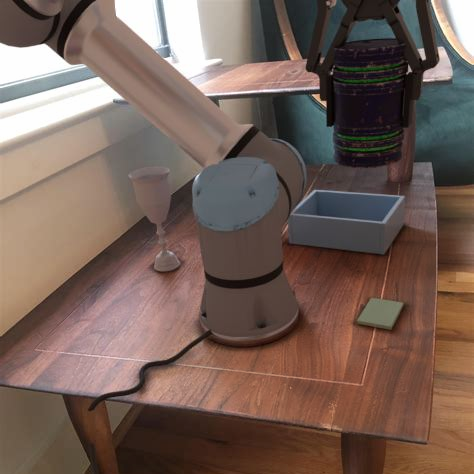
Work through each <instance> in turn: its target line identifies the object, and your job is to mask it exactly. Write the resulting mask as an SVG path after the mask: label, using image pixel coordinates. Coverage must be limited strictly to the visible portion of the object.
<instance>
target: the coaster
mask: <svg viewBox="0 0 474 474" xmlns="http://www.w3.org/2000/svg"><path fill="white" fill-rule="evenodd" d="M403 308H404V302H402V301H396V300H389V299H382V298H376V297H370V299H369V300H368V302H367V304H366V305H365V306H364V308H363V310H362V312H361V313H360V315H359V317H358V318H357V320H356V324H357V325H363V326H369V327H374V328H379V329H384V330H389V331H391V330H392V329H393V327H394V325H395V323H396V321H397V319H398V318H399V316H400V314H401V311H402V309H403Z"/></svg>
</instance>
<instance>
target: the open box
mask: <svg viewBox="0 0 474 474" xmlns="http://www.w3.org/2000/svg"><path fill="white" fill-rule="evenodd" d="M405 203H406V196H405V195H397V194H384V193H383V194H382V193H368V192H353V191H337V190H326V189H325V190H324V189H313V190H312V191H311V192H310V193H309V194H308V195H307V196H306V197H304V199H303V200H301V201H300V203H299V204H298V205H297V206H296V207H295V209H294V210H293V211H292V213H291V214H290V216H289V218H288V220H287V230H288V243H289V244H293V245H300V246H308V247H317V248H324V249H325V248H326V249H334V250H341V251H343V250H344V251H349V252H350V251H351V252H358V253H359V252H360V253H367V254H375V255H376V254H377V255H382V256H383V255H385V254H386V252H387V251H388V249H389V248H390V246H391V245H392V243H393V242H394V240H395V239H396V238H397V236H398V234H399V233H400V231H401V229H402V228H403V227H404V223H405V207H406V206H405V205H406V204H405Z"/></svg>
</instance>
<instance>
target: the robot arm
mask: <svg viewBox="0 0 474 474" xmlns="http://www.w3.org/2000/svg"><path fill="white" fill-rule="evenodd" d="M340 1H341V3H342V4H343V6H344V7H345V9H346V11H345V12H344V15H343V16H342V19H341V21H340V25H339V27H338V29H337V31H336V33H335V35H334V37H333V39H332V42H331V44H330V45H329V48H328V50H327V52H326V54H325V56H324V58H323V60H322V62H321V59H322V54H323V51H324V48H325V43H326V40H327V39H326V38H327V34H328V29H329V26H330V21H331V18H332V13H333V12H332V11H333V8H334V7H335V6H336V4H337V0H316V3H317V12H316V18H315V22H314V25H313V26H314V27H313V31H312V36H311V41H310V44H309V49H308V54H307V59H306V64H305V71H306V72H307V73H312V74H315V75H317V77H318V79H319V80H318V82H319V84H318V86H319V101H321V102H325V103H326V104H325V107H326V108H325V112H326V113H325V114H326V116H325V118H326V119H325V120H326V122H325V123H326V125H325V126H326V127H327V128H332V127H334V120H335V92H334V90H333V80H334V78H333V67H335V66H334V65H333V59H334V58H335V54H334V53H333V47H334V48H340V47H342V46H344V45H345V43H346V42H348V39H349V37H350V35H351V33H352V31H353V29H354V27H355V26H356V24H357V23H358V22H365V21H368V20H373V21H384V20H385V21H386V23H387V25H388V26H389V27H390V29H391V31H392V33H393V35H394V38H396V39H397V41H398V44H399V45H400V44H404V43H405V50H404V56H405V58H406V60H407V62H408V64H409V65H408V67H409V69H410V70H411V71H408V72H407V73H406V74H407V75H406V77H405V89H404V104H403V125H402V128H403V129H406V128H407V129H409V127H410V126H411V124H412V123H413V113H414V112H413V109H414V101H419V100H420V99H421V97H422V95H423V86H424V74H425V72H426V71H429V70H431V69H434V68H436V67H437V65H438V64H439V63H440V61H441V59H440V53H439V48H438V41H437V37H436V32H435V31H436V30H435V25H434V21H433V16H432V15H433V14H432V9H431V3H430V0H412V2H415V10H416V16H417V21H418V26H419V30H420V36H421V41H422V46H423V52H424V56H425V58H424V59H423V58H422V56H421V53H420V51H419V49H418V47H417V45H416V43H415V40H414V39H413V37H412V34H411V33H410V30H409V28H408V26H407V24H406V22H405V20H404V16H403V13H402V12H401V10H400V7H399V5H398V4H399V3H400V2H401V0H340ZM117 8H118V7H117V2H116V0H0V44H2V45H4V46H8V47H12V48H13V47H14V48H20V49H21V48H31V47H36V46H40V45H41V46H42V45H46V46H48V48H50V49H51V50H52V51H53V52H54V53H55V54H56V55H58V56H59V57H60V58H61V59H62V60H64V62H66V63H67V64H68V65H71V66H80V65H84V66H85V67H86V68H88V69H89V70H90V71H91V72H92V73H94V74H95V75H96V76H97V77H98V78H99V79H100V80H102V81H103V83H105V84H106V85H107V86H109V87H110V89H112V90H113V91H114V92H115V93H116V94H118V95H119V96H120V97H121V98H122V99H124V100H125V101H126V102H127V103H128V104H129V105H130V106H131V107H133V109H135V110H136V111H137V112H139V114H140V115H142V116H143V117H144V118H145V119H146V120H147V121H149V122H150V123H151V124H152V125H153V126H155V127H156V128H157V129H158V130H159V131H160V132H161V133H163V134H164V136H166V137H167V138H168V139H170V141H172V143H174V144H175V145H176V146H177V147H178V148H179V149H181V150H182V151H183V152H184V153H186V154H187V156H189V157H190V158H191V159H192V160H193V161H195V162H196V163H197V164H198V165H199V166H200V167H201V168H202V170H201V171H200V172H199V173H198V174H197V175H196V176H195V178H194V180H193V183H192V188H191V193H192V205H191V207H192V211H193V215H194V219H195V225H196V231H197V237H198V243H199V248H200V255H201V260H202V268H203V272H204V279H205V280H204V285H203V290H202V294H201V300H200V306H199V311H198V312H199V313H198V317H199V324H200V329H201V331H202V333H203V334H201V335H200V336H198V337H197V338H195V339H194V340H193V341H191V342H190V343H188V344H187V345H186V346H184V347H183V348H182V349H181V350H180V351H179V352H178V353H176V354H175V355H173V356H171V357H169V358H167V359H162V360H153V361H149V362H147V363H144V364H143V365H142V366H141V367H140V369H139V372H138V379H139V381H138V384H136V385H135V386H133V387H131V388H129V389H124V390H117V391H110V392H107V393H103V394H101V395H99V396H97V397H95V399H93V401H92V402H91V404H90V405H89V407H88V409H87V412H92V411H94V410H95V409H96V407H97V406H98V405H99V404H100V403H102V402H103V401H105V400H108V399H112V398H113V399H114V398H119V397H120V398H121V397H126V396H130V395H133V394H136V393H137V392H139V391H140V390H142V389H143V387H144V385H145V383H146V377H145V374H146V371H147V370H148V369H150V368H153V367H160V366H161V367H163V366H167V365H170V364H172V363H175V362H176V361H178V360H180V359H181V358H182V357H183V356H185V354H187V353H188V352H189V351H190V350H192V349H193V348H194V347H196V346H198V345H199V344H200V343H201V342H202V341H204V340H205V339H207V338H208V339H210V340H211V341H213V342H216V343H218V344H221V345H225V346H230V347H231V346H232V347H255V346H261V345H265V344H269V343H271V342H274V341H277V340H279V339H281V338H283V337H284V336H287V335H288V334H289V333H290V332H292V331H293V329H295V327H296V326H297V324H298V323H299V318H300V312H299V311H300V310H299V302H298V300H297V297H296V291H294V290H293V288H292V286H291V284H290V281H289V279H288V277H287V275H286V272H285V270H284V254H283V239H282V231H283V227H284V226H285V225H286V223H287V222H288V218H289V216H290V214H291V213H292V211H293V210H294V209H295V207H296V206H297V205H298V204H299V203H301V202H302V198H303V196H304V193H305V188H306V186H307V181H308V180H307V175H308V174H307V168H306V164H305V161H304V158H303V156H301V154H300V152H299V151H298V150H297V149H296V147H295V146H293V145H292V144H289V143H290V142H289V143H288V142H287V141H285V140H283V139H279V138H271V137H270V138H269V137H268V136H267V135H266V134H265V133H264V132H262V130H260V129H259V128H258V127H256V125H254V124H253V123H245V124H239V123H237V122H236V121H235V120H234V119H233V118H232V117H230V116H229V115H228V114H227V113H226V112H225V111H224V110H223V109H221V108H220V106H218V105H217V104H216V103H215V102H214V101H213V100H212V99H210V98H209V97H208V96H207V95H206V94H205V93H204V92H203V91H201V90H200V89H199V88H198V87H197V86H196V85H195V84H194V83H192V82H191V81H190V80H189V79H188V77H186V76H184V75H183V74H182V72H180V71H179V70H178V69H177V68H175V66H174V65H173V64H171V63H170V62H169V61H168V60H166V58H164V57H163V56H162V55H161V54H160V53H159V52H158V51H156V50H155V48H154V47H152V46H151V45H150V44H149V43H148V42H146V41H145V40H144V38H142V37H141V36H140V35H138V33H136V32H135V31H134V30H133V29H132V28H130V27H129V26H128V24H126V23H125V21H123V20H122V19H121V18H120V17H119V15H118V9H117ZM95 445H96V444H95V443H92V442H89V441H88V448H89V456H90V463H91V470H92V474H100V473H99V468H98V460H97V453H96V446H95Z"/></svg>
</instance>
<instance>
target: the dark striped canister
mask: <svg viewBox="0 0 474 474" xmlns="http://www.w3.org/2000/svg"><path fill="white" fill-rule="evenodd" d="M404 50H405V43H404V44H400V45H399V44H398V41H397V39H396V37H387V38H386V37H385V38H383V37H382V38H369V39H367V38H366V39H359V40H358V39H357V40H351V41H346V43H345V45H344V46H342V47H340V48H334V47H333V53H334V54H335V58H334V59H333V65H334V67H333V69H332V70H333V71H332V74H333V78H334V80H333V90H334V92H335V120H334V125H333V132H332V143H333V151H334V154H333V162H334V163H335V164H337V165H339V166H342V167H346V168H351V169H352V168H353V169H377V168H383V167H388V166H391V165H395V164H397V163H398V162H400V161H402V158H403V151H402V148H403V145H404V142H403V141H404V140H405V128H402V125H403V109H404V93H405V77H406V75H407V74H408V73H409V64H408V62H407V60H406V58H405V56H404Z"/></svg>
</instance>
